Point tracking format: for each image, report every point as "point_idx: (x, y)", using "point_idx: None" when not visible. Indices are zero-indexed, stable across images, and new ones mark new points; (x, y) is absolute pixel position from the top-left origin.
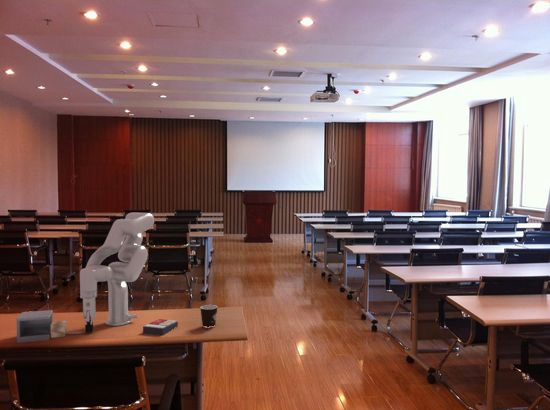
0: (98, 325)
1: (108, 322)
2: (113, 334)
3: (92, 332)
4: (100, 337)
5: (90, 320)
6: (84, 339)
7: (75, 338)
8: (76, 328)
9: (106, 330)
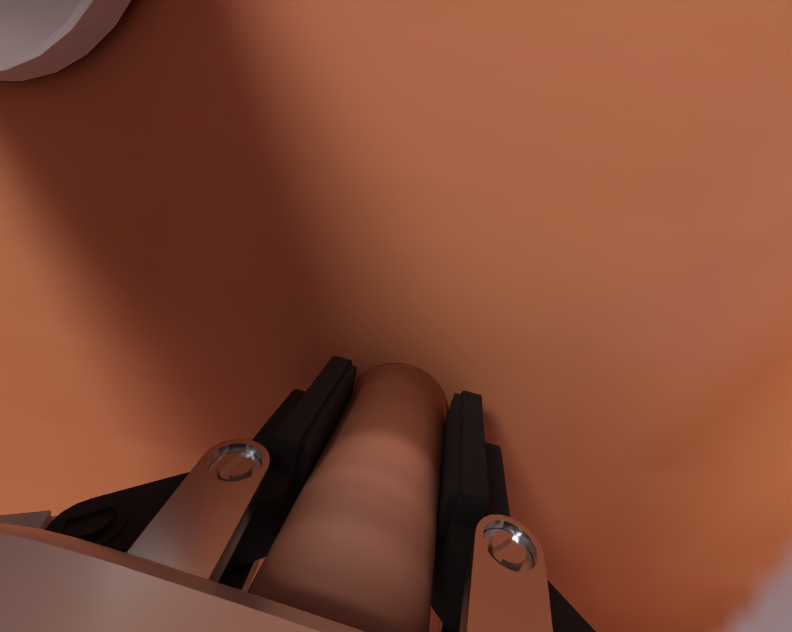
0: (71, 213)
1: (14, 18)
2: (785, 18)
3: (410, 366)
4: (779, 310)
5: (424, 612)
6: (685, 520)
7: (552, 581)
8: (144, 476)
9: (395, 130)
